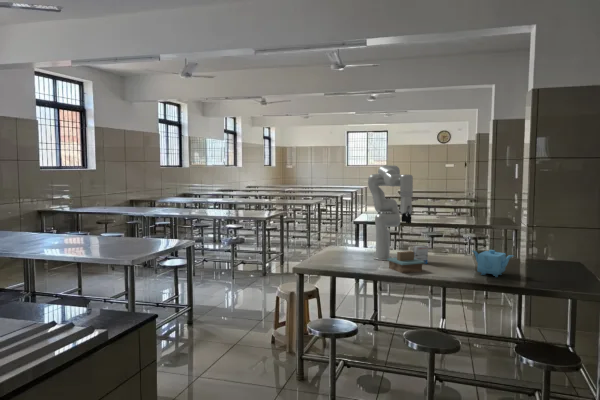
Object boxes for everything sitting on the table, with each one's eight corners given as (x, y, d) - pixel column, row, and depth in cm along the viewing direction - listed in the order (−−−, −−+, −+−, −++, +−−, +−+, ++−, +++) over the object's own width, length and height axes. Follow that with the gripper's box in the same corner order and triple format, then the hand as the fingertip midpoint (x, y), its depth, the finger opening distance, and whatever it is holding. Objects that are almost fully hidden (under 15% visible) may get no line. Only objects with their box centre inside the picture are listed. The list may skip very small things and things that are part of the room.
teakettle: (497, 270, 285) (498, 247, 284) (514, 278, 266) (515, 252, 265) (468, 271, 283) (469, 247, 282) (483, 278, 264) (484, 253, 263)
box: (389, 269, 285) (389, 260, 284) (407, 268, 290) (408, 258, 290) (402, 274, 272) (402, 264, 271) (421, 272, 277) (422, 263, 277)
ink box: (423, 262, 308) (424, 245, 307) (427, 264, 303) (428, 246, 302) (412, 263, 306) (412, 245, 305) (416, 264, 301) (416, 246, 300)
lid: (386, 260, 285) (387, 250, 285) (408, 258, 291) (408, 248, 291) (402, 265, 270) (402, 255, 270) (424, 263, 276) (424, 253, 276)
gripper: (396, 194, 292) (396, 221, 292) (404, 194, 274) (404, 223, 275) (408, 194, 292) (408, 221, 292) (416, 194, 275) (416, 223, 275)
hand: (406, 222), depth 284 cm, fingers open, 9 cm apart
